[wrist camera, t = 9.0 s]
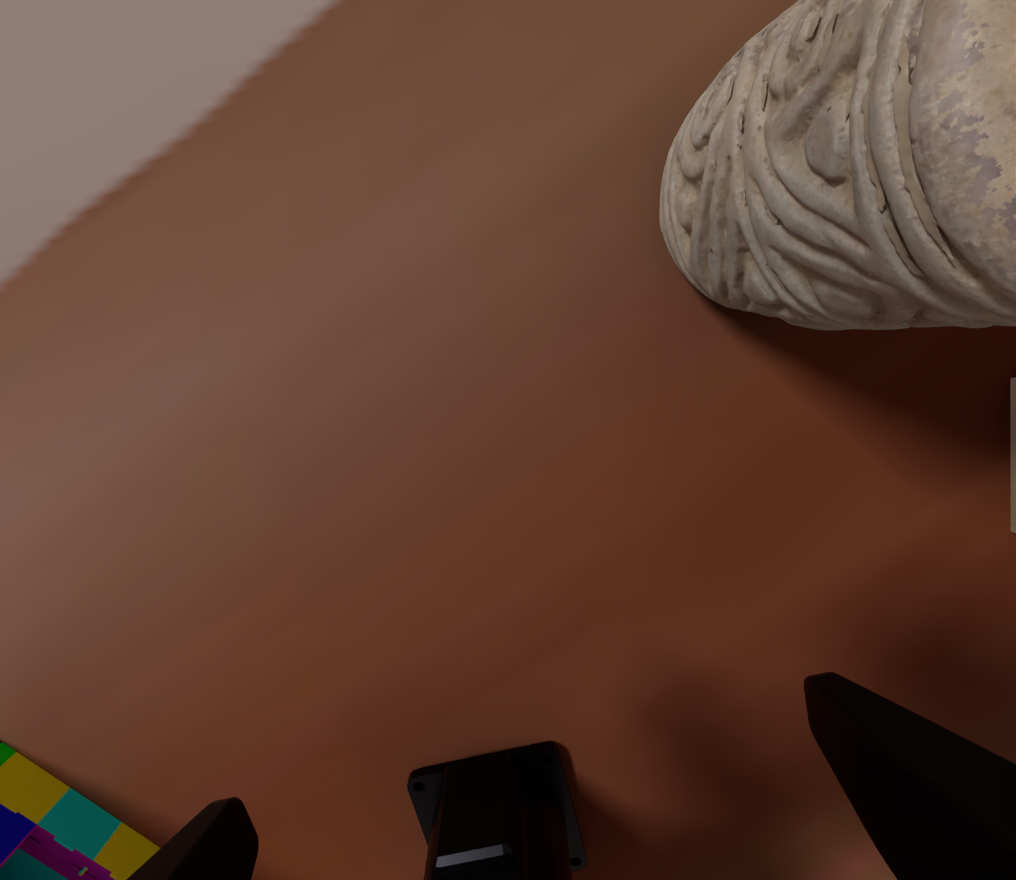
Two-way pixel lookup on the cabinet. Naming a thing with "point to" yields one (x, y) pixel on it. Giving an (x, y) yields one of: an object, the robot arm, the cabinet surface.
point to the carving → (855, 168)
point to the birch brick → (1013, 453)
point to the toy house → (60, 829)
